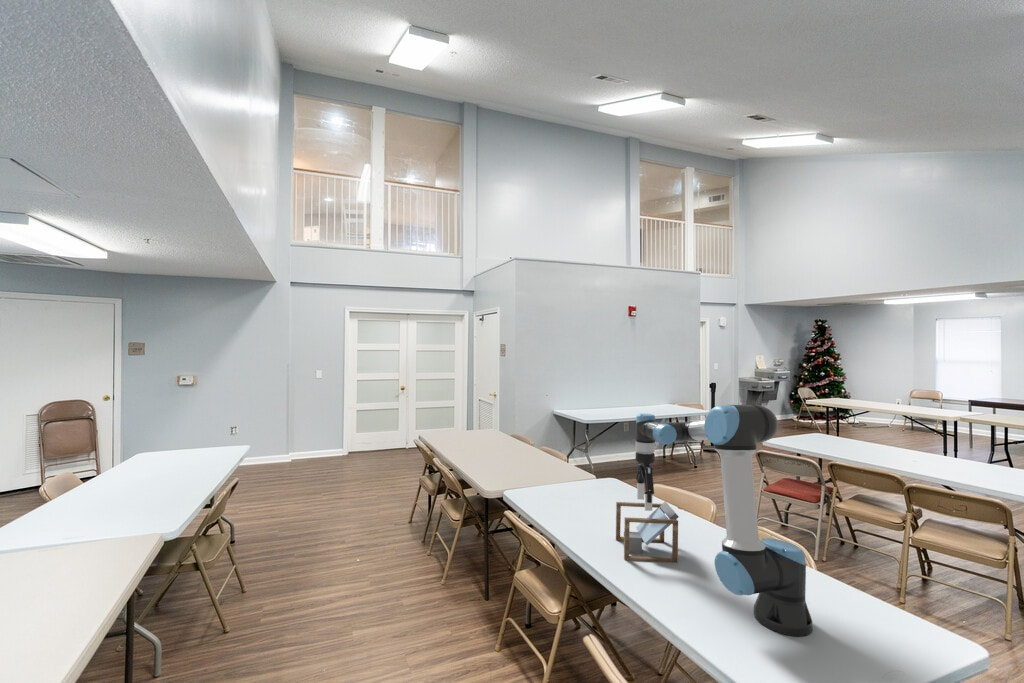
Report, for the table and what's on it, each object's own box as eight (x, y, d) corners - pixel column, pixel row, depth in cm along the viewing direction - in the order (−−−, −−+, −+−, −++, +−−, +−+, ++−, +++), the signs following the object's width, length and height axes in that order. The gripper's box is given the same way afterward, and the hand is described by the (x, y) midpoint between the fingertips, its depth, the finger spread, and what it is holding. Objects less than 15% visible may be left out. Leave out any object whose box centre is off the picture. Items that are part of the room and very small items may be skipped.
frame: (677, 562, 174) (678, 521, 174) (624, 560, 175) (625, 518, 175) (663, 540, 194) (663, 503, 194) (615, 538, 195) (616, 501, 195)
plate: (679, 517, 176) (676, 513, 176) (647, 546, 177) (644, 542, 177) (667, 504, 192) (664, 500, 192) (638, 530, 193) (635, 526, 193)
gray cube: (641, 537, 182) (626, 537, 182) (641, 553, 181) (626, 552, 182) (638, 532, 188) (623, 531, 188) (638, 546, 187) (623, 546, 188)
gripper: (662, 459, 173) (662, 515, 172) (647, 446, 198) (646, 495, 197) (642, 458, 173) (642, 515, 173) (629, 445, 198) (628, 494, 198)
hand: (644, 504), depth 185 cm, fingers open, 13 cm apart
